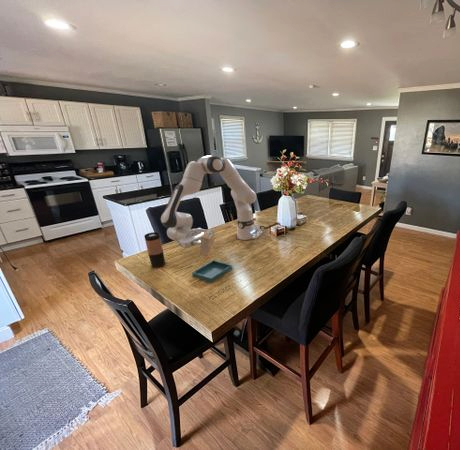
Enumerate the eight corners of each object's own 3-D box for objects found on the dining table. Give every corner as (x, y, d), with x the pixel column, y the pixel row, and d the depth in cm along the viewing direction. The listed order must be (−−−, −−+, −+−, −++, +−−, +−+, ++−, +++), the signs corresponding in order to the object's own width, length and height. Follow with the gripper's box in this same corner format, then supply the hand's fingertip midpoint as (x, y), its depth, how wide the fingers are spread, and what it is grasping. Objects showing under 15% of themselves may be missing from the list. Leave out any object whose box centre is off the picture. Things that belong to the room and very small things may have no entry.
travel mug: (149, 265, 145) (142, 234, 138) (163, 260, 150) (156, 231, 143) (153, 269, 140) (146, 238, 133) (167, 264, 145) (161, 234, 138)
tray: (213, 263, 147) (213, 260, 146) (232, 268, 141) (231, 265, 140) (192, 276, 133) (192, 272, 132) (211, 282, 128) (211, 278, 127)
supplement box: (207, 256, 136) (209, 239, 129) (199, 254, 136) (200, 236, 129) (213, 248, 143) (215, 231, 136) (205, 245, 143) (207, 228, 136)
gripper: (173, 238, 133) (190, 242, 128) (201, 226, 150) (218, 230, 145) (175, 248, 135) (192, 253, 130) (203, 236, 153) (219, 240, 147)
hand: (206, 241), depth 137 cm, fingers closed on supplement box, 6 cm apart
